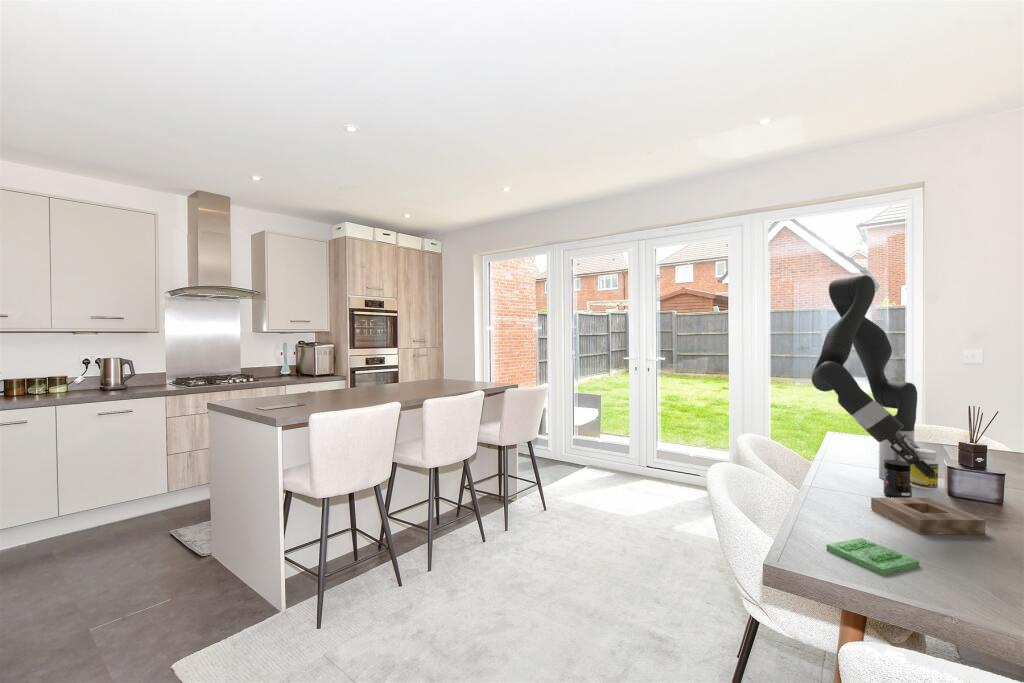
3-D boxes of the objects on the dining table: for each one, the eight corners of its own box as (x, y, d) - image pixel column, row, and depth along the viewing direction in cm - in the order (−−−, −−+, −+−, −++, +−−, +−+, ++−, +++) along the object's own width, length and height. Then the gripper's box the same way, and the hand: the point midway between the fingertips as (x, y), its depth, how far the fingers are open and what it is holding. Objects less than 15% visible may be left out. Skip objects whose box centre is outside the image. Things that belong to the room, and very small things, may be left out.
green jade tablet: (882, 578, 96) (882, 566, 96) (826, 552, 108) (826, 542, 108) (919, 570, 100) (919, 558, 100) (861, 546, 111) (861, 535, 111)
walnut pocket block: (928, 510, 132) (929, 497, 132) (985, 534, 116) (985, 520, 116) (871, 509, 132) (871, 497, 132) (919, 534, 116) (919, 519, 116)
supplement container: (897, 492, 147) (897, 459, 146) (918, 500, 140) (918, 465, 140) (877, 493, 146) (877, 459, 146) (897, 501, 139) (897, 465, 139)
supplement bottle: (931, 492, 120) (932, 453, 120) (905, 485, 125) (906, 449, 125) (942, 488, 123) (942, 451, 123) (916, 482, 128) (916, 446, 128)
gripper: (884, 415, 124) (945, 470, 116) (893, 409, 134) (949, 459, 126) (859, 432, 128) (916, 486, 120) (869, 425, 138) (922, 475, 130)
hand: (933, 472), depth 123 cm, fingers closed on supplement bottle, 5 cm apart
